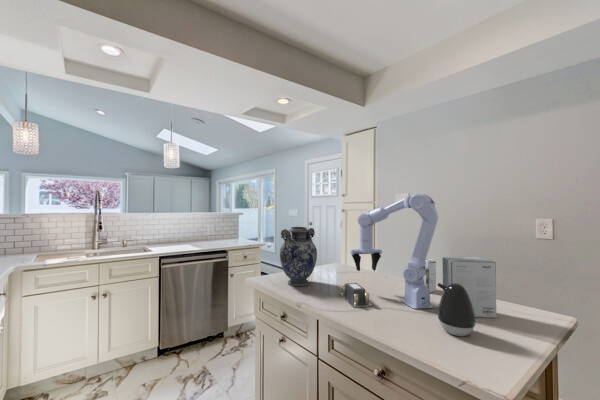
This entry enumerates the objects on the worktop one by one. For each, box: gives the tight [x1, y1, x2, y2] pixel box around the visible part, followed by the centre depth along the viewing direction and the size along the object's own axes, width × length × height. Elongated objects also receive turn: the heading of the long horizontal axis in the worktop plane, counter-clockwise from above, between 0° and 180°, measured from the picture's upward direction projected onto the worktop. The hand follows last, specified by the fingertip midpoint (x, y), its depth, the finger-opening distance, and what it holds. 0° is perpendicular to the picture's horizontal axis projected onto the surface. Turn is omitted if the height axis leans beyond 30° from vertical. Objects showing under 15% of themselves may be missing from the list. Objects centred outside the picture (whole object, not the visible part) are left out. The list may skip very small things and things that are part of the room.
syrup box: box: [423, 257, 437, 293], centre depth 126 cm, size 6×6×14 cm
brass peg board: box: [339, 283, 374, 309], centre depth 112 cm, size 16×8×5 cm, turn 11°
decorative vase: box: [279, 226, 318, 287], centre depth 135 cm, size 21×19×28 cm
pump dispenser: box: [437, 282, 476, 337], centre depth 85 cm, size 10×10×15 cm
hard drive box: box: [442, 256, 498, 319], centre depth 100 cm, size 16×8×20 cm, turn 84°
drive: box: [345, 282, 366, 303], centre depth 113 cm, size 9×5×5 cm, turn 11°
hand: (366, 270), depth 123 cm, fingers open, 7 cm apart
